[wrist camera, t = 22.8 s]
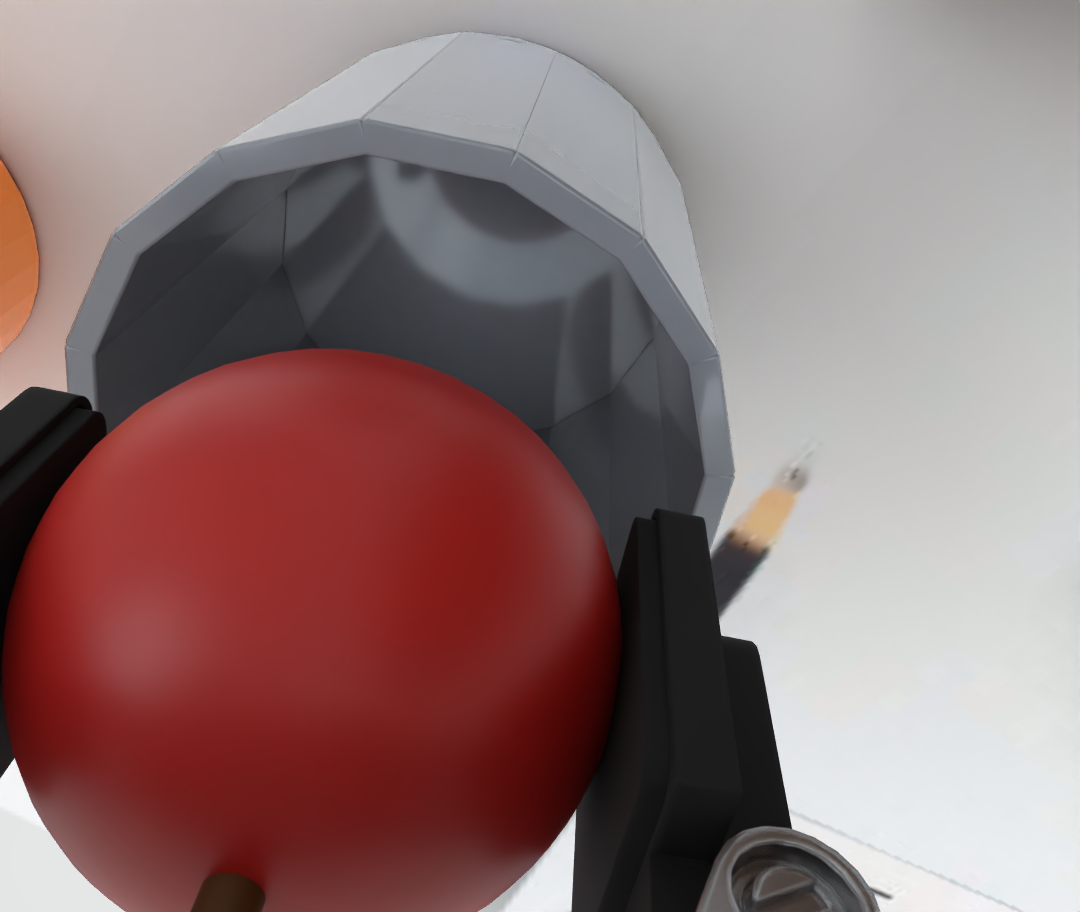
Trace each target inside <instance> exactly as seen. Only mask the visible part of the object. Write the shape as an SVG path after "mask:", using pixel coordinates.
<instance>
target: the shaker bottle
mask: <svg viewBox="0 0 1080 912" xmlns="http://www.w3.org/2000/svg"><path fill="white" fill-rule="evenodd" d="M38 274H39V255H38V250H37V244H36V238H35V232H34V227H33V224H32V222H31V219H30V216H29V213H28V211H27V208H26V205H25V202H24V200H23V197H22V195H21V193H20V191H19V190H18V188H17V186H16V184H15V182H14V181H13V179H12V177H11V175H10V174H9V172H8V170H7V168H6V166H5V165H4V163H3V162H2V161H1V160H0V354H1V353H2V352H3V351H4V350H5V349H6V348H7V347H8V346H9V345H10V344H11V343H12V342H13V341H14V340H15V339H16V338H17V337H18V335H19V333H20V332H21V330H22V328H23V326H24V325H25V323H26V321H27V319H28V318H29V316H30V314H31V311H32V308H33V304H34V300H35V296H36V293H37V289H38Z"/></svg>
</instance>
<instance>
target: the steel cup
mask: <svg viewBox="0 0 1080 912" xmlns="http://www.w3.org/2000/svg"><path fill="white" fill-rule="evenodd" d="M311 348H314V349H350V350H358V351H365V352H372V353H379V354H385V355H389V356H393V357H396V358H400V359H404V360H408V361H412V362H416V363H419V364H422V365H425V366H428V367H430V368H433V369H435V370H438V371H440V372H443V373H445V374H448V375H451V376H453V377H455V378H456V379H458V380H460V381H462V382H464V383H466V384H468V385H470V386H471V387H473V388H475V389H477V390H479V391H481V392H483V393H485V394H486V395H487V396H489V397H490V398H492V399H493V400H495V401H496V402H498V403H499V404H500V405H502V406H503V407H505V408H506V409H508V410H509V411H511V412H512V413H513V414H515V415H516V416H517V417H518V418H519V419H520V420H521V421H522V422H524V423H525V424H526V425H527V426H528V427H529V428H530V429H531V430H532V431H534V432H535V433H536V434H537V435H538V436H539V437H540V438H541V439H542V440H543V442H544V443H545V444H546V445H547V446H548V447H549V448H550V450H551V451H552V452H553V453H554V454H555V455H556V457H557V458H558V459H559V460H560V461H561V463H562V464H563V466H564V467H565V469H566V470H567V472H568V473H569V475H570V476H571V478H572V479H573V481H574V482H575V484H576V485H577V487H578V488H579V490H580V491H581V493H582V494H583V496H584V497H585V499H586V500H587V502H588V504H589V506H590V509H591V511H592V513H593V515H594V517H595V519H596V521H597V523H598V526H599V528H600V530H601V532H602V535H603V538H604V541H605V544H606V547H607V550H608V554H609V557H610V560H611V564H612V567H613V570H614V574H615V577H616V579H617V576H618V572H619V569H620V565H621V561H622V558H623V554H624V551H625V547H626V544H627V540H628V537H629V533H630V530H631V526H632V523H633V521H634V518H635V517H641V518H646V519H651V516H652V514H653V512H654V510H655V509H656V508H660V509H665V510H670V511H675V512H680V513H685V514H690V515H695V516H700V517H703V518H704V520H705V524H706V531H707V538H708V545H709V552H710V549H711V546H712V543H713V540H714V537H715V534H716V531H717V528H718V525H719V522H720V519H721V517H722V514H723V511H724V508H725V505H726V502H727V499H728V496H729V493H730V490H731V487H732V484H733V481H734V473H735V467H734V459H733V452H732V444H731V437H730V429H729V422H728V414H727V406H726V399H725V391H724V384H723V376H722V369H721V361H720V355H719V351H718V346H717V342H716V337H715V333H714V328H713V324H712V320H711V315H710V311H709V306H708V302H707V298H706V293H705V289H704V284H703V280H702V275H701V271H700V267H699V262H698V258H697V253H696V249H695V245H694V240H693V236H692V231H691V227H690V222H689V218H688V214H687V209H686V205H685V200H684V196H683V192H682V187H681V184H680V181H679V179H678V178H677V176H676V174H675V173H674V171H673V169H672V168H671V166H670V164H669V162H668V160H667V158H666V156H665V154H664V152H663V150H662V148H661V146H660V144H659V142H658V140H657V138H656V137H655V136H654V134H653V133H652V131H651V130H650V128H649V127H648V126H647V124H646V123H645V121H644V120H643V118H642V117H641V116H640V114H639V113H638V112H637V110H636V108H635V107H633V106H632V104H631V103H630V102H628V101H627V100H626V99H625V98H624V97H623V96H622V95H621V94H620V93H619V92H618V91H617V90H616V89H614V88H613V87H612V86H611V85H610V84H608V83H607V82H606V81H605V80H603V79H602V78H601V77H600V76H599V75H597V74H596V73H595V72H593V71H591V70H590V69H588V68H586V67H585V66H583V65H582V64H580V63H578V62H577V61H575V60H573V59H572V58H570V57H568V56H566V55H563V54H561V53H560V52H557V51H555V50H552V49H550V48H547V47H545V46H543V45H540V44H536V43H533V42H529V41H526V40H522V39H519V38H515V37H510V36H502V35H495V34H488V33H471V32H457V33H450V34H444V35H437V36H430V37H424V38H421V39H417V40H414V41H411V42H407V43H404V44H401V45H397V46H395V47H391V48H386V49H382V50H378V51H375V52H374V53H371V54H369V55H368V56H366V57H365V58H363V59H361V60H360V61H358V62H356V63H355V64H353V65H352V66H350V67H348V68H347V69H345V70H344V71H342V72H340V73H339V74H337V75H335V76H334V77H332V78H331V79H329V80H327V81H326V82H324V83H323V84H321V85H319V86H318V87H316V88H314V89H313V90H311V91H310V92H308V93H306V94H305V95H303V96H302V97H300V98H298V99H297V100H295V101H293V102H292V103H290V104H289V105H287V106H285V107H284V108H282V109H281V110H279V111H277V112H276V113H274V114H273V115H271V116H269V117H268V118H266V119H264V120H263V121H261V122H260V123H258V124H256V125H255V126H253V127H252V128H250V129H248V130H247V131H245V132H243V133H242V134H240V135H239V136H237V137H235V138H234V139H232V140H231V141H229V142H227V143H226V144H224V145H222V146H221V147H219V148H218V149H216V150H214V151H213V152H212V153H210V154H209V155H208V156H207V157H205V158H204V159H203V160H202V161H200V162H199V163H198V164H197V165H195V166H194V167H193V168H192V169H190V170H189V171H188V172H187V173H185V174H184V175H183V176H182V177H180V178H179V179H178V180H176V181H175V182H174V183H173V184H171V185H170V186H169V187H168V188H166V189H165V190H164V191H163V192H161V193H160V194H159V195H158V196H156V197H155V198H154V199H153V200H151V201H150V202H149V203H148V204H146V205H145V206H144V207H143V208H141V209H140V210H139V211H138V212H136V213H135V214H134V215H133V216H131V217H130V218H129V219H127V220H126V221H125V222H124V223H122V224H121V225H120V226H119V227H117V228H116V229H115V231H114V233H113V234H112V235H111V236H110V238H109V241H108V243H107V245H106V248H105V250H104V252H103V255H102V257H101V259H100V262H99V264H98V266H97V269H96V271H95V273H94V276H93V278H92V280H91V283H90V285H89V287H88V290H87V292H86V294H85V297H84V299H83V302H82V304H81V306H80V309H79V311H78V313H77V316H76V318H75V320H74V323H73V325H72V327H71V330H70V332H69V334H68V337H67V339H66V345H65V358H66V373H67V388H68V393H71V394H76V395H81V396H85V397H86V398H87V399H89V401H90V403H91V405H92V410H93V411H97V412H101V413H102V414H103V415H104V417H105V420H106V426H107V435H108V434H109V433H110V432H111V431H113V430H114V429H115V428H116V427H117V426H119V425H120V424H121V423H122V422H123V421H125V420H126V419H127V418H128V417H130V416H131V415H132V414H133V413H134V412H136V411H137V410H138V409H139V408H140V407H142V406H143V405H145V404H146V403H148V402H150V401H151V400H153V399H155V398H156V397H158V396H160V395H162V394H163V393H165V392H167V391H168V390H170V389H172V388H174V387H176V386H177V385H179V384H181V383H183V382H185V381H187V380H189V379H191V378H193V377H195V376H198V375H200V374H203V373H205V372H208V371H210V370H213V369H215V368H218V367H220V366H223V365H225V364H229V363H233V362H237V361H241V360H246V359H250V358H254V357H258V356H262V355H267V354H271V353H276V352H284V351H293V350H302V349H311Z"/></svg>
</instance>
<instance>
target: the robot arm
mask: <svg viewBox="0 0 1080 912" xmlns="http://www.w3.org/2000/svg"><path fill="white" fill-rule="evenodd" d="M106 436H107V426H106V420H105V417H104V415H103V414H102V413H101V412H97V411H93V410H92V405H91V403H90V401H89V399H87V398H86V397H85V396H81V395H76V394H71V393H66V392H61V391H56V390H51V389H46V388H40V387H30V388H28V389H26V390H25V391H23V392H22V393H21V394H20V395H19V396H17V397H16V398H15V399H14V400H13V401H11V402H10V403H9V404H8V405H6V406H5V407H4V408H3V409H2V410H0V778H1V776H2V775H3V774H4V772H5V771H6V769H7V768H8V767H9V765H10V764H11V762H12V761H13V759H14V758H15V757H14V755H13V752H12V747H11V743H10V738H9V733H8V729H7V723H6V715H5V708H4V701H3V691H2V655H3V641H4V631H5V625H6V618H7V611H8V606H9V602H10V598H11V595H12V591H13V588H14V584H15V580H16V577H17V574H18V571H19V568H20V565H21V562H22V560H23V557H24V554H25V551H26V548H27V546H28V544H29V542H30V540H31V538H32V536H33V534H34V532H35V530H36V528H37V526H38V524H39V522H40V520H41V519H42V517H43V515H44V513H45V512H46V510H47V508H48V507H49V505H50V503H51V501H52V500H53V498H54V496H55V494H56V493H57V491H58V490H59V489H60V488H61V486H62V485H63V484H64V483H65V481H66V480H67V479H68V477H69V476H70V475H71V474H72V472H73V471H74V470H75V469H76V467H77V466H78V465H79V464H80V463H81V462H82V460H83V459H84V458H85V457H86V456H87V455H88V453H89V452H90V451H91V450H92V449H93V448H94V446H95V445H96V444H97V443H98V442H100V441H101V440H102V439H103V438H104V437H106ZM616 580H617V587H618V595H619V603H620V611H621V620H622V630H623V637H622V654H621V666H620V673H619V679H618V685H617V692H616V698H615V704H614V711H613V716H612V721H611V725H610V729H609V734H608V737H607V741H606V745H605V749H604V752H603V755H602V757H601V760H600V763H599V765H598V767H597V770H596V772H595V775H594V777H593V779H592V781H591V783H590V785H589V787H588V789H587V791H586V793H585V795H584V797H583V799H582V801H581V802H580V804H579V805H578V807H577V809H576V829H575V851H574V872H573V893H572V912H880V909H879V907H878V904H877V901H876V899H875V896H874V894H873V892H872V891H871V889H870V888H869V886H868V885H867V883H866V882H865V880H864V879H863V877H862V876H861V875H860V873H859V872H858V871H857V870H856V869H855V868H854V867H853V866H852V865H851V864H850V863H849V862H848V861H847V860H846V859H845V858H844V857H843V856H842V855H840V854H839V853H838V852H837V851H836V850H834V849H832V848H831V847H829V846H827V845H826V844H824V843H823V842H821V841H819V840H818V839H816V838H814V837H812V836H809V835H807V834H804V833H801V832H798V831H795V830H792V827H791V821H790V816H789V810H788V805H787V800H786V794H785V789H784V784H783V778H782V773H781V768H780V762H779V757H778V751H777V746H776V741H775V735H774V730H773V725H772V719H771V714H770V709H769V703H768V698H767V693H766V687H765V682H764V676H763V671H762V666H761V660H760V655H759V652H758V649H757V646H756V645H755V644H754V643H753V642H752V641H746V640H741V639H736V638H731V637H726V636H721V632H720V625H719V617H718V610H717V603H716V596H715V589H714V581H713V574H712V567H711V560H710V553H709V545H708V538H707V531H706V524H705V520H704V518H703V517H700V516H695V515H690V514H685V513H680V512H675V511H670V510H665V509H660V508H656V509H655V510H654V512H653V514H652V516H651V519H646V518H641V517H635V518H634V521H633V523H632V526H631V530H630V533H629V537H628V540H627V544H626V547H625V551H624V554H623V558H622V561H621V565H620V569H619V572H618V576H617V579H616Z"/></svg>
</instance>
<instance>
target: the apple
mask: <svg viewBox="0 0 1080 912" xmlns="http://www.w3.org/2000/svg"><path fill="white" fill-rule="evenodd" d="M622 637H623V630H622V620H621V611H620V603H619V595H618V587H617V580H616V577H615V574H614V570H613V567H612V564H611V560H610V557H609V554H608V550H607V547H606V544H605V541H604V538H603V535H602V532H601V530H600V528H599V526H598V523H597V521H596V519H595V517H594V515H593V513H592V511H591V509H590V506H589V504H588V502H587V500H586V499H585V497H584V496H583V494H582V493H581V491H580V490H579V488H578V487H577V485H576V484H575V482H574V481H573V479H572V478H571V476H570V475H569V473H568V472H567V470H566V469H565V467H564V466H563V464H562V463H561V461H560V460H559V459H558V458H557V457H556V455H555V454H554V453H553V452H552V451H551V450H550V448H549V447H548V446H547V445H546V444H545V443H544V442H543V440H542V439H541V438H540V437H539V436H538V435H537V434H536V433H535V432H534V431H532V430H531V429H530V428H529V427H528V426H527V425H526V424H525V423H524V422H522V421H521V420H520V419H519V418H518V417H517V416H516V415H515V414H513V413H512V412H511V411H509V410H508V409H506V408H505V407H503V406H502V405H500V404H499V403H498V402H496V401H495V400H493V399H492V398H490V397H489V396H487V395H486V394H485V393H483V392H481V391H479V390H477V389H475V388H473V387H471V386H470V385H468V384H466V383H464V382H462V381H460V380H458V379H456V378H455V377H453V376H451V375H448V374H445V373H443V372H440V371H438V370H435V369H433V368H430V367H428V366H425V365H422V364H419V363H416V362H412V361H408V360H404V359H400V358H396V357H393V356H389V355H385V354H379V353H372V352H365V351H358V350H350V349H314V348H311V349H302V350H293V351H284V352H276V353H271V354H267V355H262V356H258V357H254V358H250V359H246V360H241V361H237V362H233V363H229V364H225V365H223V366H220V367H218V368H215V369H213V370H210V371H208V372H205V373H203V374H200V375H198V376H195V377H193V378H191V379H189V380H187V381H185V382H183V383H181V384H179V385H177V386H176V387H174V388H172V389H170V390H168V391H167V392H165V393H163V394H162V395H160V396H158V397H156V398H155V399H153V400H151V401H150V402H148V403H146V404H145V405H143V406H142V407H140V408H139V409H138V410H137V411H136V412H134V413H133V414H132V415H131V416H130V417H128V418H127V419H126V420H125V421H123V422H122V423H121V424H120V425H119V426H117V427H116V428H115V429H114V430H113V431H111V432H110V433H109V434H108V435H107V436H106V437H104V438H103V439H102V440H101V441H100V442H98V443H97V444H96V445H95V446H94V448H93V449H92V450H91V451H90V452H89V453H88V455H87V456H86V457H85V458H84V459H83V460H82V462H81V463H80V464H79V465H78V466H77V467H76V469H75V470H74V471H73V472H72V474H71V475H70V476H69V477H68V479H67V480H66V481H65V483H64V484H63V485H62V486H61V488H60V489H59V490H58V491H57V493H56V494H55V496H54V498H53V500H52V501H51V503H50V505H49V507H48V508H47V510H46V512H45V513H44V515H43V517H42V519H41V520H40V522H39V524H38V526H37V528H36V530H35V532H34V534H33V536H32V538H31V540H30V542H29V544H28V546H27V548H26V551H25V554H24V557H23V560H22V562H21V565H20V568H19V571H18V574H17V577H16V580H15V584H14V588H13V591H12V595H11V598H10V602H9V606H8V611H7V618H6V625H5V631H4V641H3V655H2V691H3V701H4V708H5V715H6V723H7V729H8V733H9V738H10V743H11V747H12V752H13V755H14V757H15V760H16V763H17V765H18V768H19V771H20V773H21V776H22V778H23V781H24V784H25V786H26V789H27V791H28V794H29V797H30V799H31V802H32V804H33V806H34V808H35V809H36V811H37V813H38V815H39V816H40V818H41V820H42V822H43V823H44V825H45V827H46V828H47V830H48V831H49V832H50V834H51V835H52V837H53V838H54V840H55V841H56V842H57V844H58V845H59V847H60V848H61V849H62V851H63V852H64V853H65V855H66V856H67V857H68V859H69V860H70V861H71V863H72V864H73V865H74V867H75V868H76V869H77V870H78V871H79V872H80V873H81V874H82V875H83V876H84V877H85V878H86V879H87V880H88V881H89V882H90V883H91V884H92V885H93V886H94V887H95V888H97V889H98V890H99V891H100V892H101V893H102V894H104V895H105V896H106V897H107V898H108V899H110V900H111V901H112V902H114V903H115V904H116V905H117V906H119V907H120V908H121V909H123V910H124V911H126V912H478V911H479V910H481V909H482V908H484V907H486V906H487V905H489V904H490V903H492V902H493V901H494V900H495V899H496V898H497V897H499V896H500V895H501V894H502V893H503V892H505V891H506V890H507V889H508V888H510V887H511V886H512V885H513V884H514V883H515V882H516V881H517V880H518V879H519V878H520V877H522V876H523V875H524V874H525V873H526V872H527V871H528V870H529V869H530V868H531V867H532V866H533V865H534V864H535V863H536V862H537V861H538V859H539V858H540V857H541V856H542V855H543V854H544V853H545V852H546V850H547V849H548V848H549V847H550V846H551V844H552V843H553V842H554V840H555V839H556V838H557V836H558V835H559V834H560V832H561V831H562V830H563V828H564V827H565V826H566V824H567V823H568V821H569V820H570V818H571V817H572V815H573V813H574V812H575V810H576V809H577V807H578V805H579V804H580V802H581V801H582V799H583V797H584V795H585V793H586V791H587V789H588V787H589V785H590V783H591V781H592V779H593V777H594V775H595V772H596V770H597V767H598V765H599V763H600V760H601V757H602V755H603V752H604V749H605V745H606V741H607V737H608V734H609V729H610V725H611V721H612V716H613V711H614V704H615V698H616V692H617V685H618V679H619V673H620V666H621V654H622Z"/></svg>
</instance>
